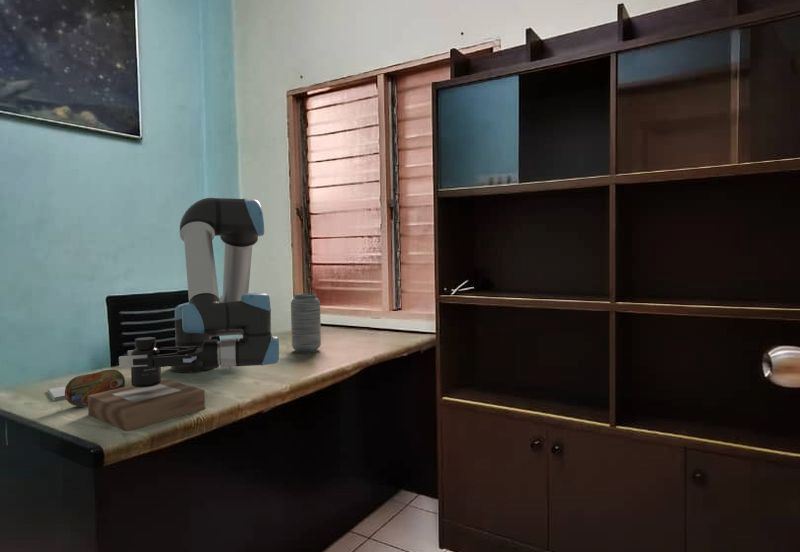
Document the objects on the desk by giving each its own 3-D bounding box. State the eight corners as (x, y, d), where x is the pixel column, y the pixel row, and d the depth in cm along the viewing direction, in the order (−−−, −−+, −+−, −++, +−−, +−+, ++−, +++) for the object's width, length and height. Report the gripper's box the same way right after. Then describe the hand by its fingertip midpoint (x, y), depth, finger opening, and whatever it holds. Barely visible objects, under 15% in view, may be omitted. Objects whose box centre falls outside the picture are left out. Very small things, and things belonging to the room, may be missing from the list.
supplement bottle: (149, 388, 126) (147, 341, 125) (125, 387, 127) (123, 340, 126) (167, 381, 132) (165, 336, 132) (144, 380, 134) (142, 335, 133)
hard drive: (88, 391, 145) (79, 383, 154) (54, 397, 140) (47, 388, 149) (88, 397, 145) (80, 388, 154) (54, 403, 140) (47, 393, 149)
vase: (285, 352, 201) (284, 295, 200) (302, 347, 212) (301, 293, 210) (310, 355, 197) (309, 296, 195) (326, 349, 207) (325, 293, 206)
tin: (69, 410, 131) (68, 379, 131) (63, 409, 133) (62, 377, 133) (126, 396, 144) (125, 367, 144) (120, 394, 146) (118, 365, 145)
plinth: (88, 414, 128) (87, 395, 128) (164, 395, 144) (164, 378, 144) (126, 431, 116) (125, 409, 116) (204, 408, 132) (204, 389, 132)
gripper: (215, 376, 124) (112, 383, 119) (223, 359, 143) (135, 364, 138) (214, 346, 124) (110, 351, 118) (222, 333, 143) (134, 337, 137)
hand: (124, 358), depth 128 cm, fingers closed on supplement bottle, 7 cm apart
